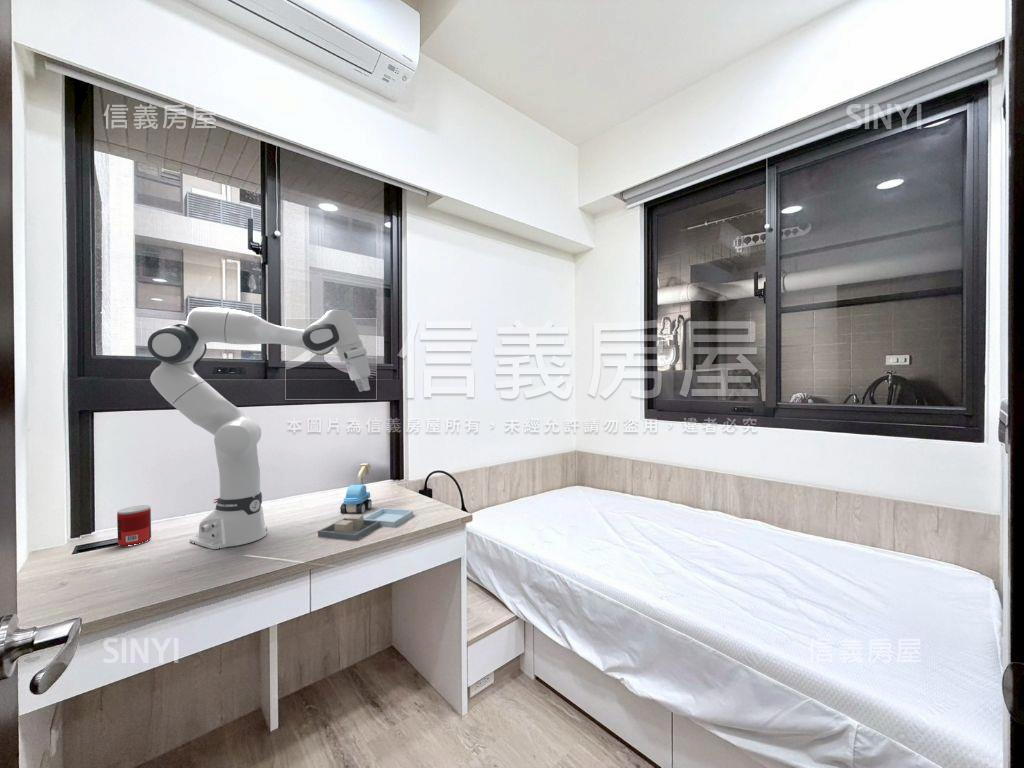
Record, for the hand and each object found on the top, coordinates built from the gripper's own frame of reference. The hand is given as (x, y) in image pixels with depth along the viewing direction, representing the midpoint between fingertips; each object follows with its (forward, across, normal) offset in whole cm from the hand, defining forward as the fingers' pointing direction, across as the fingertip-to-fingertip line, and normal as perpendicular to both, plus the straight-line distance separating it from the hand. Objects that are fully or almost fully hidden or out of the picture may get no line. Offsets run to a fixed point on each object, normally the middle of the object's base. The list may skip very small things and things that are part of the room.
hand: (364, 390), depth 149 cm
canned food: (+25, -23, -78) cm, 86 cm away
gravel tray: (+44, +6, -21) cm, 49 cm away
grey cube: (+42, +8, -22) cm, 49 cm away
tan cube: (+44, +4, -18) cm, 47 cm away
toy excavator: (+45, -20, -13) cm, 51 cm away
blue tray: (+48, 0, -7) cm, 48 cm away
